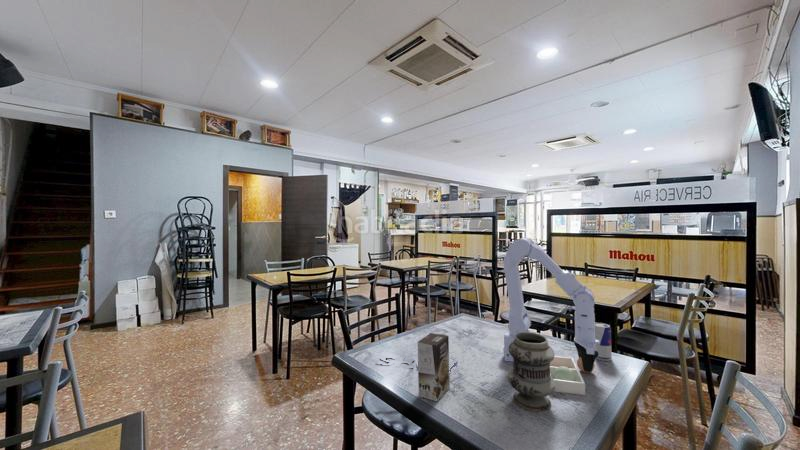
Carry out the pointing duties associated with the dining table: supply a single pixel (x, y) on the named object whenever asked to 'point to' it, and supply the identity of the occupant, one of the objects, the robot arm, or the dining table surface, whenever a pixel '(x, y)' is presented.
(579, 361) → the terracotta ball
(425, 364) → the coffee box
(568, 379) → the sage ball
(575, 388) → the sorting tray
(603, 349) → the energy drink
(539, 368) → the apothecary jar
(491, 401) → the dining table surface
